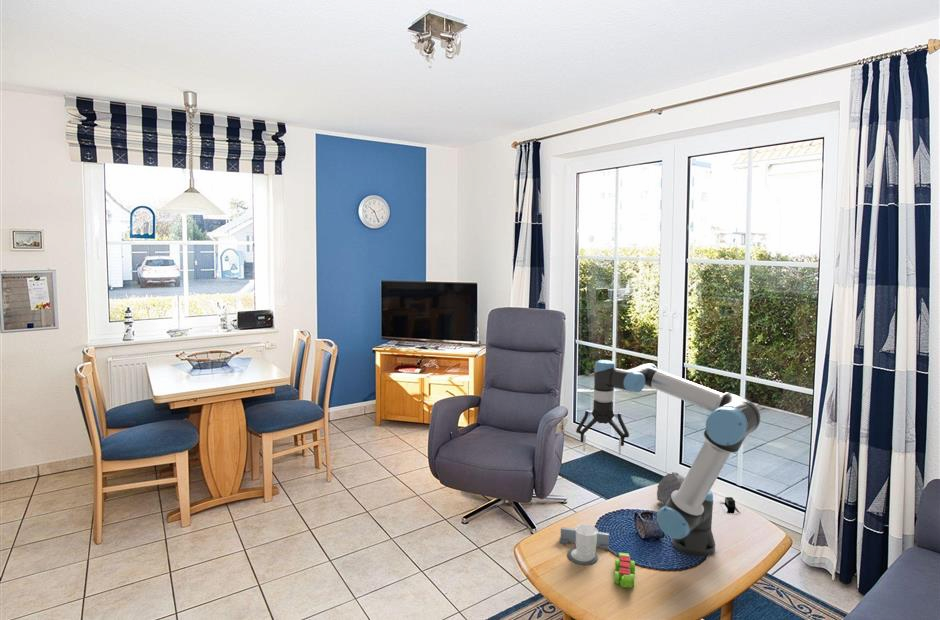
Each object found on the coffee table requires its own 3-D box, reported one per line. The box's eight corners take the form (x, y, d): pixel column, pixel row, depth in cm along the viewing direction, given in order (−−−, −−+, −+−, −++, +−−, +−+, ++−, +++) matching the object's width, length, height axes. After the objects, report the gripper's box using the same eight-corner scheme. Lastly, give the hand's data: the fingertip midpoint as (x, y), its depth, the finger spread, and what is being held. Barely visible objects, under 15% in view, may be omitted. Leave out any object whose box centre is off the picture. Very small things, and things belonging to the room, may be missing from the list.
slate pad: (598, 550, 210) (598, 548, 210) (597, 567, 200) (597, 565, 200) (568, 546, 213) (569, 544, 213) (565, 562, 203) (566, 560, 203)
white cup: (597, 562, 202) (597, 536, 200) (574, 560, 203) (575, 534, 202) (596, 550, 209) (597, 525, 208) (574, 548, 211) (575, 523, 209)
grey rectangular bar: (608, 543, 215) (609, 530, 214) (608, 550, 210) (608, 537, 210) (561, 536, 220) (561, 524, 219) (560, 543, 215) (560, 531, 214)
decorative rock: (654, 501, 248) (656, 469, 246) (663, 497, 252) (665, 465, 250) (688, 516, 235) (690, 482, 233) (697, 511, 239) (699, 478, 237)
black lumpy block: (743, 516, 236) (744, 506, 235) (725, 515, 237) (725, 505, 236) (733, 502, 248) (733, 492, 247) (715, 501, 249) (716, 492, 248)
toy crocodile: (615, 559, 205) (616, 544, 204) (634, 562, 203) (635, 546, 202) (613, 592, 186) (614, 575, 185) (634, 596, 184) (635, 579, 183)
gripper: (636, 399, 220) (634, 451, 223) (572, 394, 227) (570, 445, 230) (636, 405, 213) (634, 458, 216) (570, 400, 219) (569, 451, 222)
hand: (601, 451), depth 223 cm, fingers open, 13 cm apart
